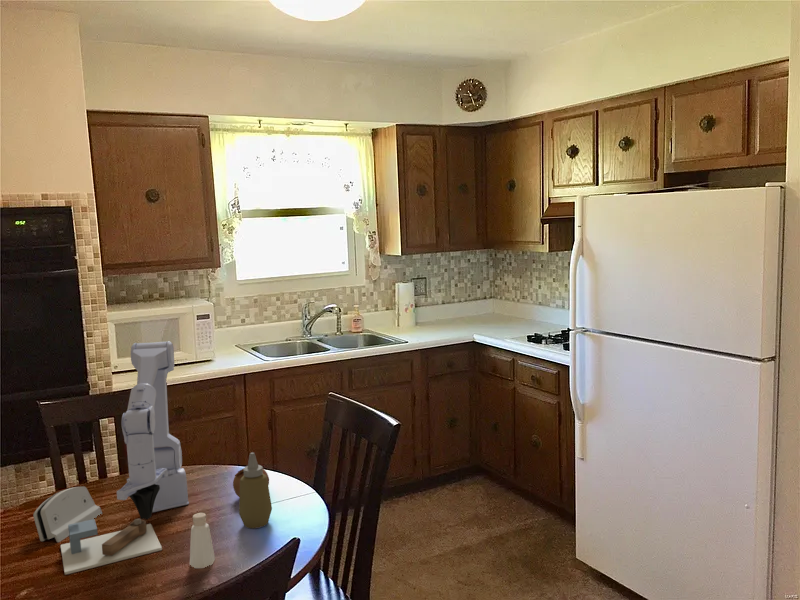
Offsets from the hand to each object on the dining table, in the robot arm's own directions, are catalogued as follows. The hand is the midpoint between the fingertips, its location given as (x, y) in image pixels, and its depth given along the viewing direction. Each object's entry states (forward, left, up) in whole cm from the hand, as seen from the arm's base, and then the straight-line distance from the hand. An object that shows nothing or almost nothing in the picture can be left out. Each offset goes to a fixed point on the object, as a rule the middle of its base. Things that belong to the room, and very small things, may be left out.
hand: (145, 517), depth 155 cm
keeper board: (+8, -4, -7) cm, 11 cm away
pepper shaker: (-9, +14, -7) cm, 18 cm away
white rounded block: (+15, -23, -7) cm, 28 cm away
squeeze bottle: (-25, +2, -7) cm, 26 cm away
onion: (-29, -14, -7) cm, 33 cm away
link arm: (+4, -3, -6) cm, 8 cm away
